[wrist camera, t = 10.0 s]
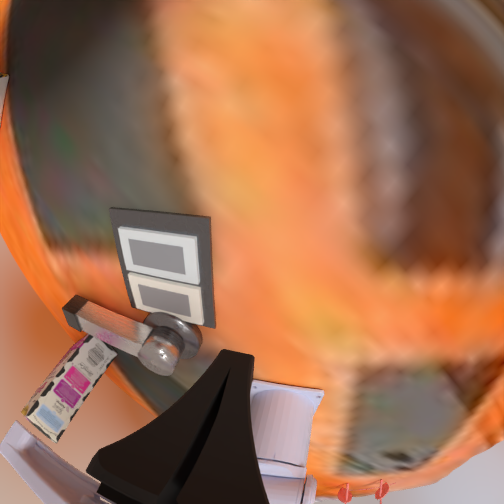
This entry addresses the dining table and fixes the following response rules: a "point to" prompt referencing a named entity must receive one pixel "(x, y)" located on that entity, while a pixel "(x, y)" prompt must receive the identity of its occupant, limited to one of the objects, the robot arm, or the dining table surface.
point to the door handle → (127, 335)
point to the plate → (176, 225)
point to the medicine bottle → (2, 91)
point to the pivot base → (178, 331)
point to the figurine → (380, 493)
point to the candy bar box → (68, 386)
